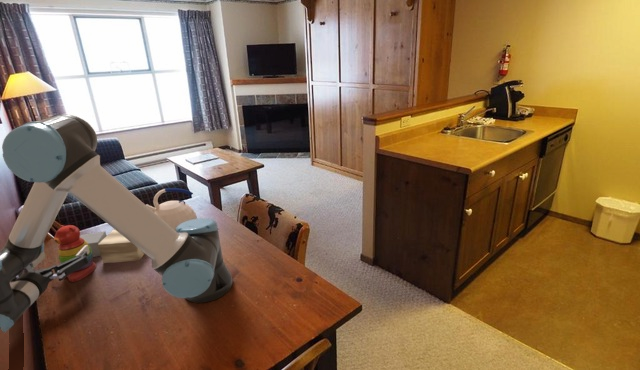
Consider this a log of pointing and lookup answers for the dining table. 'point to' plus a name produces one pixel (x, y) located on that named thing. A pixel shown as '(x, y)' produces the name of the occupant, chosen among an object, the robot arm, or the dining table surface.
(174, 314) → the dining table surface
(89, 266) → the stacking bear
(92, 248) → the stoneware block
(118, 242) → the birch block
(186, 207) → the kettle
